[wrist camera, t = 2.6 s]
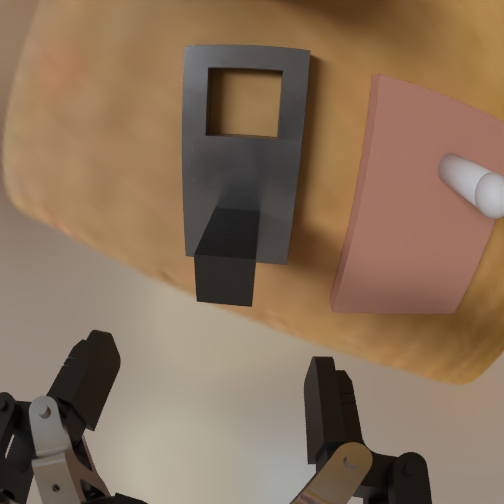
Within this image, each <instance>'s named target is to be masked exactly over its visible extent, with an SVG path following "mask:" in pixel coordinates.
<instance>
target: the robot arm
mask: <svg viewBox="0 0 504 504" xmlns="http://www.w3.org/2000/svg"><path fill="white" fill-rule="evenodd" d="M119 368H120V355H119V352H118V350H117V347H116V345H115V342H114V339H113V337H112V334H111V333H108V332H103V331H99V330H93V331H92V332H91V333H90V334H89V336H88V338H87V340H83V339H82V340H81V341H80V342H79V343H78V344H77V345H75V346H74V347H73V349H72V350H71V352H70V354H69V356H68V358H67V359H66V361H65V363H64V366H62V368H61V370H60V372H59V374H58V375H57V377H56V379H55V381H54V383H53V384H52V386H51V388H50V390H49V392H48V394H47V395H46V396H40V397H38V398H36V399H35V400H34V401H33V402H24V401H16V400H15V399H14V398H13V397H12V396H11V395H10V394H9V393H7V392H2V393H0V504H26V501H27V497H28V493H29V489H30V486H31V482H32V479H33V475H34V476H35V479H36V483H37V486H38V490H39V493H40V496H41V499H42V502H43V504H147V503H146V502H144V501H142V500H138V499H135V498H131V497H128V496H125V495H122V494H119V493H116V494H115V496H111V495H110V493H109V491H108V489H107V487H106V485H105V483H104V482H103V480H102V479H101V478H100V476H99V475H98V473H97V471H96V468H95V465H94V463H93V460H92V457H91V455H90V452H89V449H88V446H87V443H86V440H85V437H84V435H83V433H84V430H85V428H86V429H89V430H92V431H94V430H95V428H96V425H97V422H98V420H99V417H100V415H101V412H102V410H103V407H104V405H105V402H106V400H107V397H108V395H109V392H110V390H111V388H112V385H113V383H114V381H115V378H116V376H117V373H118V371H119ZM304 401H305V417H306V435H307V456H308V464H316V474H315V475H314V476H313V477H312V478H311V479H310V481H309V482H308V483H307V484H306V485H305V487H304V488H303V489H302V490H301V491H300V492H299V494H298V495H297V496H296V497H295V498H294V499H293V500H292V502H291V503H290V504H347V502H348V501H349V500H350V498H351V497H352V496H354V497H360V498H363V504H432V500H431V490H430V483H429V477H428V469H427V464H426V461H425V459H424V458H423V457H422V456H421V455H419V454H417V453H414V452H407V453H404V454H402V455H401V456H399V457H394V456H387V455H382V454H377V453H375V452H373V451H371V450H370V449H369V448H368V447H367V446H366V445H365V443H364V441H363V439H362V434H361V427H360V422H359V416H358V410H357V405H356V400H355V395H354V389H353V384H352V381H351V379H350V378H349V376H348V375H347V373H346V372H345V371H344V370H335V364H334V359H333V357H315V356H314V357H313V358H312V360H311V363H310V366H309V369H308V372H307V375H306V378H305V382H304ZM12 434H13V435H15V436H14V438H13V441H12V444H11V447H10V449H9V452H8V455H7V458H6V459H5V453H6V450H7V448H8V445H9V442H10V440H11V437H12Z"/></svg>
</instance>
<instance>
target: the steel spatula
mask: <svg viewBox="0 0 504 504" xmlns="http://www.w3.org/2000/svg"><path fill="white" fill-rule="evenodd" d="M309 62H310V50H302V49H294V48H284V47H273V46H257V45H195V46H185V57H184V77H183V107H182V180H183V211H184V233H185V250H186V256H190V257H194V264H195V281H196V296H197V301H198V302H207V303H217V304H227V305H237V306H248V307H252V301H253V290H254V279H255V268H256V262H259V263H271V264H284V265H287V258H288V251H289V244H290V237H291V229H292V222H293V214H294V207H295V199H296V191H297V183H298V174H299V166H300V157H301V148H302V139H303V129H304V119H305V109H306V98H307V87H308V75H309ZM212 69H245V70H264V71H277V72H282V82H281V95H280V108H279V120H278V132H277V137H269V136H256V135H240V134H216V133H209V126H210V99H211V78H212Z"/></svg>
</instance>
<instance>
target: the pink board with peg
mask: <svg viewBox="0 0 504 504" xmlns="http://www.w3.org/2000/svg"><path fill="white" fill-rule="evenodd" d="M503 216H504V122H503V121H501V120H499V119H497V118H495V117H493V116H491V115H489V114H487V113H485V112H483V111H481V110H479V109H476V108H474V107H472V106H470V105H468V104H465V103H463V102H461V101H458V100H456V99H453V98H451V97H448V96H446V95H443V94H441V93H438V92H435V91H433V90H430V89H427V88H424V87H421V86H418V85H415V84H412V83H409V82H406V81H402V80H399V79H396V78H392V77H388V76H385V75H381V74H378V75H372V81H371V91H370V100H369V109H368V117H367V124H366V132H365V139H364V145H363V152H362V158H361V164H360V170H359V175H358V181H357V186H356V191H355V197H354V202H353V207H352V211H351V216H350V221H349V225H348V230H347V234H346V239H345V243H344V247H343V251H342V255H341V260H340V264H339V267H338V271H337V275H336V279H335V283H334V287H333V290H332V294H331V297H330V304H331V308H332V312H344V313H374V314H454V313H455V311H456V309H457V308H458V306H459V304H460V302H461V300H462V298H463V296H464V294H465V292H466V290H467V288H468V286H469V284H470V282H471V280H472V277H473V275H474V273H475V271H476V269H477V266H478V264H479V262H480V259H481V257H482V254H483V252H484V249H485V247H486V244H487V242H488V239H489V237H490V234H491V231H492V228H493V225H494V223H495V220H496V219H497V218H501V217H503Z"/></svg>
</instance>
